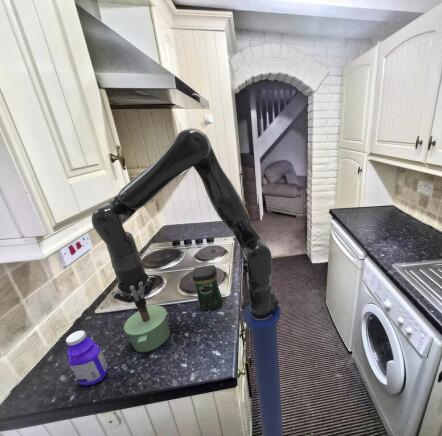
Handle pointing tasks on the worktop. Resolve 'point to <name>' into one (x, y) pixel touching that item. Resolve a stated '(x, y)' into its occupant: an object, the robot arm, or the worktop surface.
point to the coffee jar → (207, 287)
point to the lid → (145, 320)
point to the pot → (151, 337)
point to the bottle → (86, 359)
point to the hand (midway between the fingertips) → (142, 306)
